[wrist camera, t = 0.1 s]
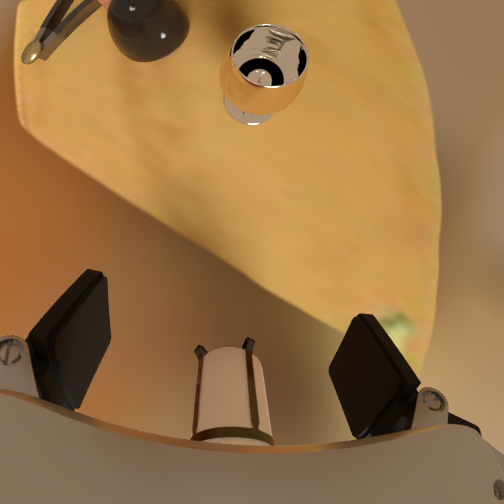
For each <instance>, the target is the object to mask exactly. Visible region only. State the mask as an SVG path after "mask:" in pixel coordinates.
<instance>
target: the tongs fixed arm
mask: <svg viewBox="0 0 504 504" xmlns="http://www.w3.org/2000/svg"><path fill="white" fill-rule="evenodd" d="M101 6H102V4H101V3H100V2H99V1H98V0H84V1H83V2H82V3H81V4H80V5H79V6H78V7H77V8H75V9H74V10H73V11H72V12H71V13H70V14H69V15H68V16H67V17H66V18H65V19H64V20H63V21H62V22H61V23H60V24H59V25H58V26H57V27H56V28H55V29H54V30H53V32H52V33H51V34H50V35H49V36H48V37H47V39H46V40H45V41H44V42H43V43H41V42H40V41H37V40H34V41H32V42H30V43H29V44H28V45H27V46H26V48H25V49H24V51H23V53H22V57H21V60H22V62H23V63H25V64H31V63H33V62H34V61H35V60H36V59H37V58H40V59H43V60H47V59H48V58H49V56H50V55H51V54H52V53H53V52H54V51H55V50H56V49H57V48H58V46H59V45H60V44H61V43H62V42H63V41H64V40H65V39H66V38H67V37H68V36H69V35H70V34H71V33H72V32H73V31H74V30H75V29H76V28H77V27H78V26H79V25H80V24H81V23H82V22H84V21H85V20H86V19H87V18H88V17H89V16H90V15H91V14H92V13H94V12H95V11H96V10H97V9H98V8H100V7H101Z"/></svg>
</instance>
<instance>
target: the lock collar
mask: <svg viewBox="0 0 504 504" xmlns="http://www.w3.org/2000/svg"><path fill="white" fill-rule="evenodd" d="M98 1H99V2H100V3H101V4H102V5H103V6H104V7H105V8H106V9H107V10H108V7H109V4H110V2H111V0H98Z"/></svg>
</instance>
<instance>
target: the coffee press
mask: <svg viewBox="0 0 504 504" xmlns="http://www.w3.org/2000/svg"><path fill="white" fill-rule="evenodd" d="M254 344H255V341H254V340H253V339H250V338H248V337H247V338H246V340H245V342H244V344H243V347H242V348H237V347H222V348H218V349H215V350H212V351H210V352H209V353H208V352H207V351H206V350H205V348H204V347H203V346H201V345H198V346H197V348H196V349H195V350H194V352H195V354H196V356H197V357H198V360H199V365H198V375H197V383H196V393H195V403H194V414H193V424H192V437H191V439H190V440H193V441H201V442H210V443H220V444H233V445H253V446H275V442H274V439H273V438H272V434H271V433H272V432H271V426H270V419H269V412H268V405H267V399H266V391H265V385H264V378H263V371H262V366H261V363H260V361H259V359H258V358H257V357H256V356H255V355H253V354H252V350H253V347H254ZM201 353H202V354H201ZM202 355H203V356H204V357H203V356H202Z"/></svg>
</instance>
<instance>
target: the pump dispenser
mask: <svg viewBox="0 0 504 504" xmlns="http://www.w3.org/2000/svg"><path fill="white" fill-rule="evenodd" d="M107 22H108V28H109V32H110V35H111V38H112V40H113V42H114V43H115V45H116V46H117V48H118V49H119V51H120V52H121V53H122V54H123V55H124V56H126V57H127V58H129V59H131V60H133V61H137V62H151V61H156V60H160V59H163V58H165V57H167V56H169V55H171V54H172V53H174V52H175V51H176V50H177V49H178V48H179V47H180V46H181V45H182V43H183V42H184V40H185V39H186V37H187V35H188V32H189V27H190V22H189V18H188V15H187V13H186V11H185V10H184V8H183V7H182V6H181V4H180V3H179V2H178V1H177V0H111V2H110V4H109V7H108V11H107Z"/></svg>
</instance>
